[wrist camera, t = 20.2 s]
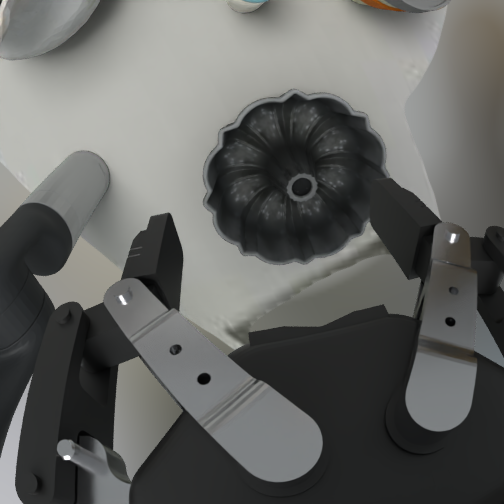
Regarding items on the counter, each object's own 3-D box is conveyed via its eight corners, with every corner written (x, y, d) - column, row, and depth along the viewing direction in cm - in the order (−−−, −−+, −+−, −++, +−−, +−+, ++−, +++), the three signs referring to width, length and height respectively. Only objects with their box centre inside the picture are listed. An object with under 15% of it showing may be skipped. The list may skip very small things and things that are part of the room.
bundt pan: (227, 61, 38) (230, 64, 30) (384, 113, 45) (416, 131, 37) (189, 216, 53) (186, 251, 45) (328, 240, 59) (345, 275, 51)
